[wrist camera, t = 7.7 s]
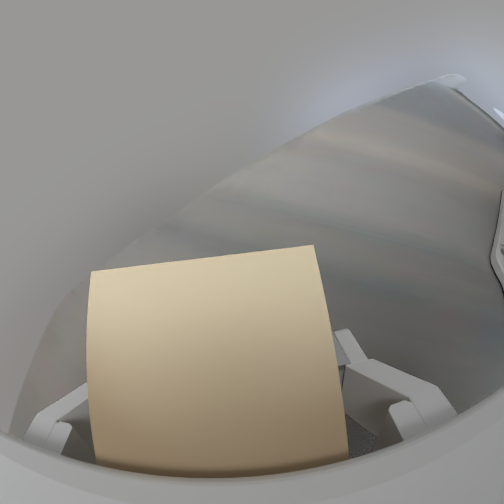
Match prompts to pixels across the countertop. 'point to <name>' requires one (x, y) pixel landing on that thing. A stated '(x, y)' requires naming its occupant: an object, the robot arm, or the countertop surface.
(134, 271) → the maple peg
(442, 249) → the countertop surface
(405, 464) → the robot arm
